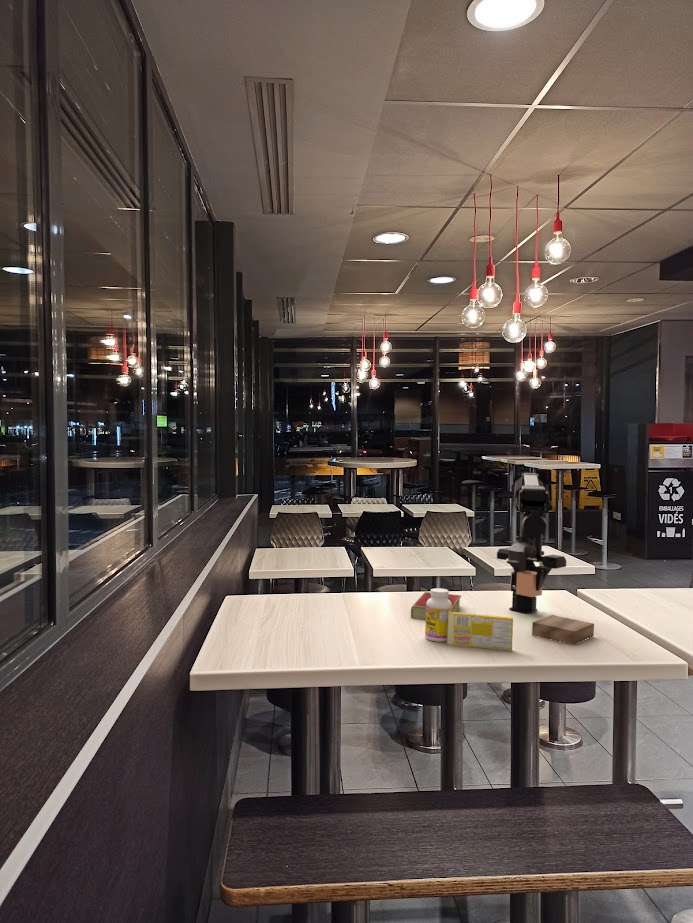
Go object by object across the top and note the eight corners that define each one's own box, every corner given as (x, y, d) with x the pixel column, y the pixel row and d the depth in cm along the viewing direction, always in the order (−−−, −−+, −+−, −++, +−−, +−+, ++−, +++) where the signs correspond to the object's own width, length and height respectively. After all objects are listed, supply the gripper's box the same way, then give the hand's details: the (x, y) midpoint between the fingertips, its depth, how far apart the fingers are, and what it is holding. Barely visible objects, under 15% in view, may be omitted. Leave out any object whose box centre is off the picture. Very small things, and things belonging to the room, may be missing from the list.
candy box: (512, 649, 171) (513, 617, 171) (512, 652, 169) (513, 619, 168) (447, 642, 175) (449, 610, 175) (446, 644, 173) (448, 612, 173)
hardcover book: (410, 619, 199) (411, 604, 199) (423, 603, 219) (423, 590, 219) (451, 623, 196) (452, 609, 195) (460, 607, 216) (461, 594, 216)
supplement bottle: (420, 636, 180) (422, 587, 179) (442, 634, 182) (444, 586, 182) (432, 643, 173) (434, 593, 173) (455, 641, 176) (457, 592, 175)
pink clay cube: (516, 593, 187) (516, 572, 187) (525, 591, 191) (526, 570, 191) (531, 597, 184) (532, 575, 184) (541, 594, 187) (542, 573, 187)
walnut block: (531, 636, 185) (532, 622, 184) (552, 629, 193) (552, 615, 193) (574, 646, 176) (574, 631, 176) (593, 638, 185) (594, 623, 185)
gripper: (486, 530, 188) (484, 586, 189) (546, 538, 175) (544, 599, 175) (509, 528, 196) (506, 581, 196) (568, 535, 182) (566, 593, 183)
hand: (529, 588), depth 187 cm, fingers closed on pink clay cube, 5 cm apart
